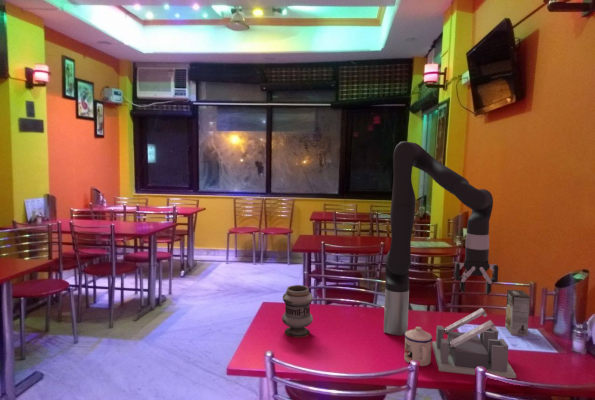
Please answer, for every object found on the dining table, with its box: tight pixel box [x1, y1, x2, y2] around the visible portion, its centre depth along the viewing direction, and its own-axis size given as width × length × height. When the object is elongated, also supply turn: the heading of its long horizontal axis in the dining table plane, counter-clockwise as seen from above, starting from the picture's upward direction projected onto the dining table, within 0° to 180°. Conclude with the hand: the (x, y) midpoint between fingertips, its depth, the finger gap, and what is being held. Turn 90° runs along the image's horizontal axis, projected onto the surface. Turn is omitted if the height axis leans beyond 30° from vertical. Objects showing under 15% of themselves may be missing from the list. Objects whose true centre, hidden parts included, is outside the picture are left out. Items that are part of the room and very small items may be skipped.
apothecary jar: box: [281, 284, 314, 338], centre depth 165 cm, size 12×12×18 cm
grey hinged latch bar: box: [443, 307, 488, 335], centre depth 149 cm, size 16×3×2 cm
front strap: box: [448, 319, 497, 349], centre depth 137 cm, size 16×3×2 cm
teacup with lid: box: [404, 326, 433, 367], centre depth 141 cm, size 12×9×12 cm
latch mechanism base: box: [431, 325, 517, 379], centre depth 143 cm, size 23×20×10 cm
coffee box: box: [504, 289, 531, 337], centre depth 170 cm, size 9×6×16 cm
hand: (475, 292), depth 147 cm, fingers open, 7 cm apart
